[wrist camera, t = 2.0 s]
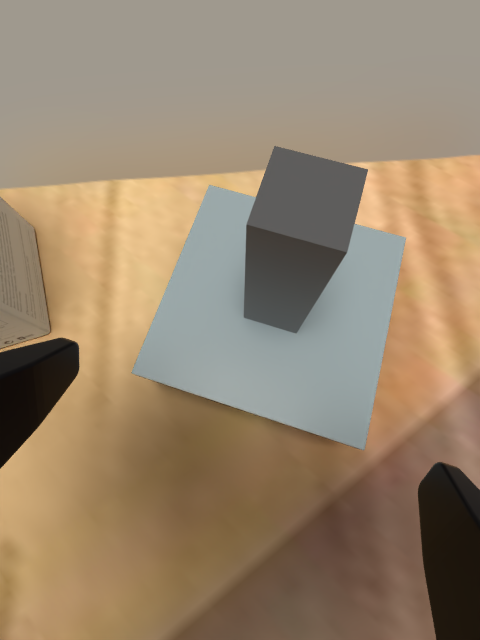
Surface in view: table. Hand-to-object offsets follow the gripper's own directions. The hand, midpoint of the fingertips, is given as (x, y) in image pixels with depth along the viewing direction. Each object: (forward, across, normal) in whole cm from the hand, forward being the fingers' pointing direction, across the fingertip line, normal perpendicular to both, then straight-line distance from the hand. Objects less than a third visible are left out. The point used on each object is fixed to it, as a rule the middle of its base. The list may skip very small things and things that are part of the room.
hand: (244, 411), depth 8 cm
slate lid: (+12, 0, +3) cm, 13 cm away
